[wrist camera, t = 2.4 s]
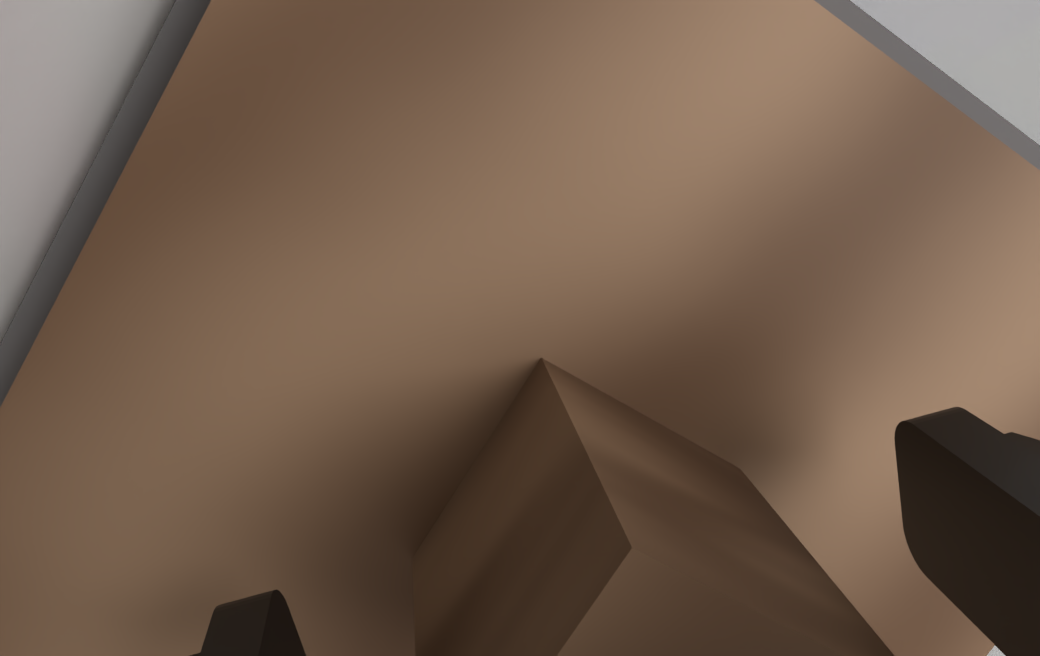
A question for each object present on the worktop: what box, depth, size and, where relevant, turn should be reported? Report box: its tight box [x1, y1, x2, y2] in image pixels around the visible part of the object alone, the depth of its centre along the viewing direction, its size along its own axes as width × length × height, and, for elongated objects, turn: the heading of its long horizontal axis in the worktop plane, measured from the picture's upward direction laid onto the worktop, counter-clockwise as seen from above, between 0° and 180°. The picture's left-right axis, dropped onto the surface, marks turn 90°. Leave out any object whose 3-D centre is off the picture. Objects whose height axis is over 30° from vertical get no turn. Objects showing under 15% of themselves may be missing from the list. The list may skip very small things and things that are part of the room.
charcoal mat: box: [0, 0, 1040, 407], centre depth 14 cm, size 16×16×1 cm
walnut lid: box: [0, 0, 1040, 656], centre depth 11 cm, size 15×15×6 cm
